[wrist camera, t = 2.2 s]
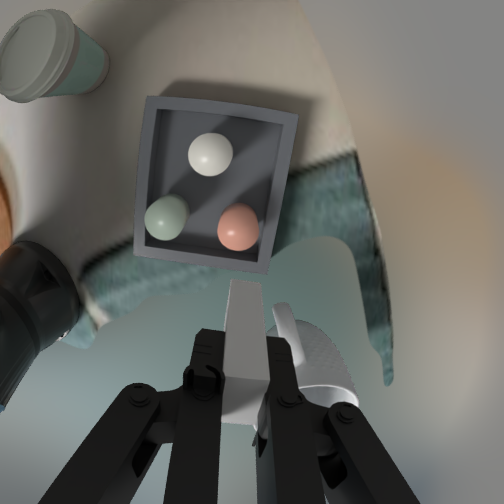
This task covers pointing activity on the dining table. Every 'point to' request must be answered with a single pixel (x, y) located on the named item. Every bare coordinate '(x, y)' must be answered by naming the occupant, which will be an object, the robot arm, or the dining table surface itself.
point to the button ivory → (210, 154)
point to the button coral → (238, 227)
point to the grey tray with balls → (212, 177)
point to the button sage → (167, 216)
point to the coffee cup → (49, 58)
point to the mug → (314, 360)
